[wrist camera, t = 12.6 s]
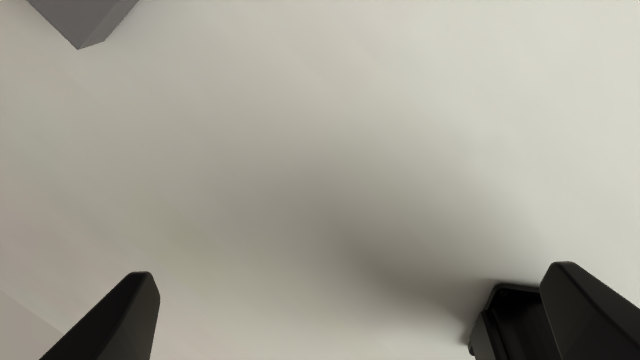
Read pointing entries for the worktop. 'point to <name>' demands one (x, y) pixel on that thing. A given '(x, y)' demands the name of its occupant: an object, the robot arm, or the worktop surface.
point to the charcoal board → (84, 18)
